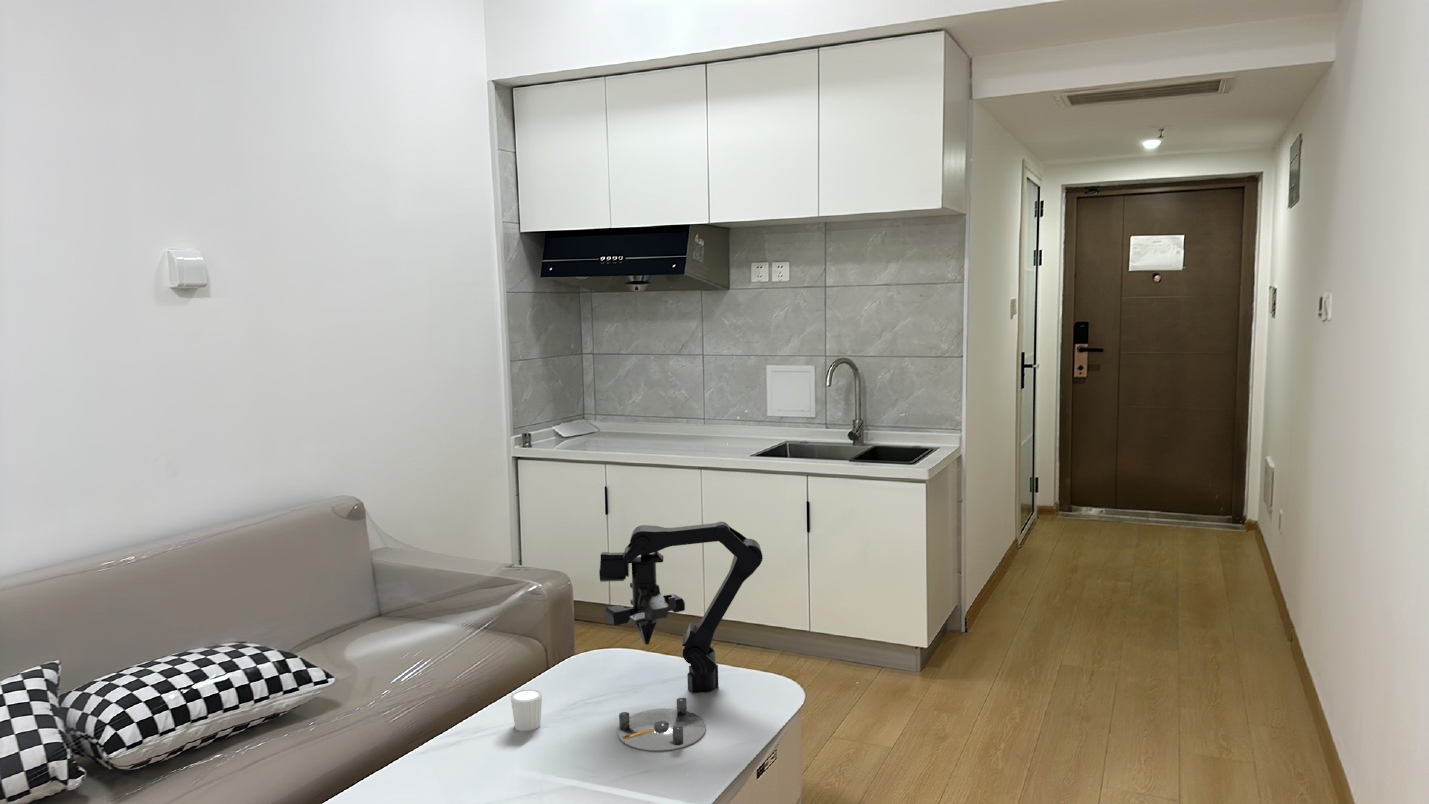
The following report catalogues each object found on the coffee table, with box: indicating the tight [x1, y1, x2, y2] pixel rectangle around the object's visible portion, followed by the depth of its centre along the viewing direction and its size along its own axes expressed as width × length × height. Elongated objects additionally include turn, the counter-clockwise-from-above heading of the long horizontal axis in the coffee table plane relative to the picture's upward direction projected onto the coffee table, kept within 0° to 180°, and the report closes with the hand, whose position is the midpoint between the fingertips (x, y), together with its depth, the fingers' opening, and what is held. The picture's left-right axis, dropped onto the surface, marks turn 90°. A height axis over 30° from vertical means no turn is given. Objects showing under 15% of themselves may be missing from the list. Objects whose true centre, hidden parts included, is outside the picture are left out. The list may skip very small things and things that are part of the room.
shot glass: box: [510, 688, 543, 732], centre depth 208 cm, size 7×7×7 cm
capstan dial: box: [617, 697, 707, 752], centre depth 203 cm, size 19×19×4 cm
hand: (646, 644), depth 223 cm, fingers closed
